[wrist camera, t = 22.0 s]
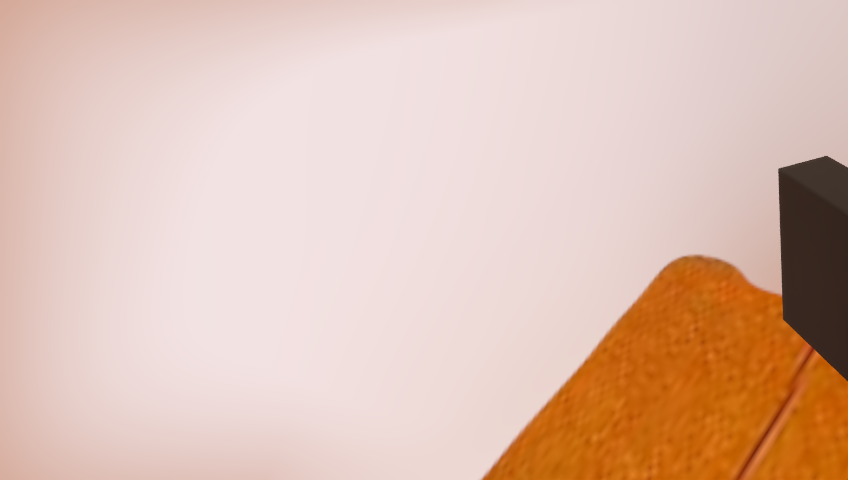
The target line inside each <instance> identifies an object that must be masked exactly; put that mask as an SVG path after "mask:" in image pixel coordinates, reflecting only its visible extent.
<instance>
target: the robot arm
mask: <svg viewBox="0 0 848 480" xmlns="http://www.w3.org/2000/svg"><path fill="white" fill-rule="evenodd" d="M778 173H779V204H780V235H781V265H782V298H783V320H784V321H786V322H787V323H788V324H789V325H790V326H791V327H792V328H793V329H794V330H795V331H796V332H797V333H798V334H799V335H800V336H801V337H802V338H803V339H804V340H805V341H806V342H807V343H808V344H809V345H811V346H812V347H813V348H814V349H815V350H816V351H817V352H818V353H819V354H820V355H821V356H822V357H823V358H824V359H825V360H826V361H827V362H828V363H829V364H830V365H831V366H832V367H833V368H834V369H836V370H837V371H838V372H839V373H840V374H841V375H842V376H843V377H844V378H845V379H846V380H847V381H848V168H847V167H845V166H844V165H842V164H840V163H839V162H837V161H835V160H833V159H831V158H830V157H828V156H824V157H821V158H817V159H813V160H809V161H806V162H802V163H798V164H795V165H791V166H787V167H783V168H779V172H778Z"/></svg>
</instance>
